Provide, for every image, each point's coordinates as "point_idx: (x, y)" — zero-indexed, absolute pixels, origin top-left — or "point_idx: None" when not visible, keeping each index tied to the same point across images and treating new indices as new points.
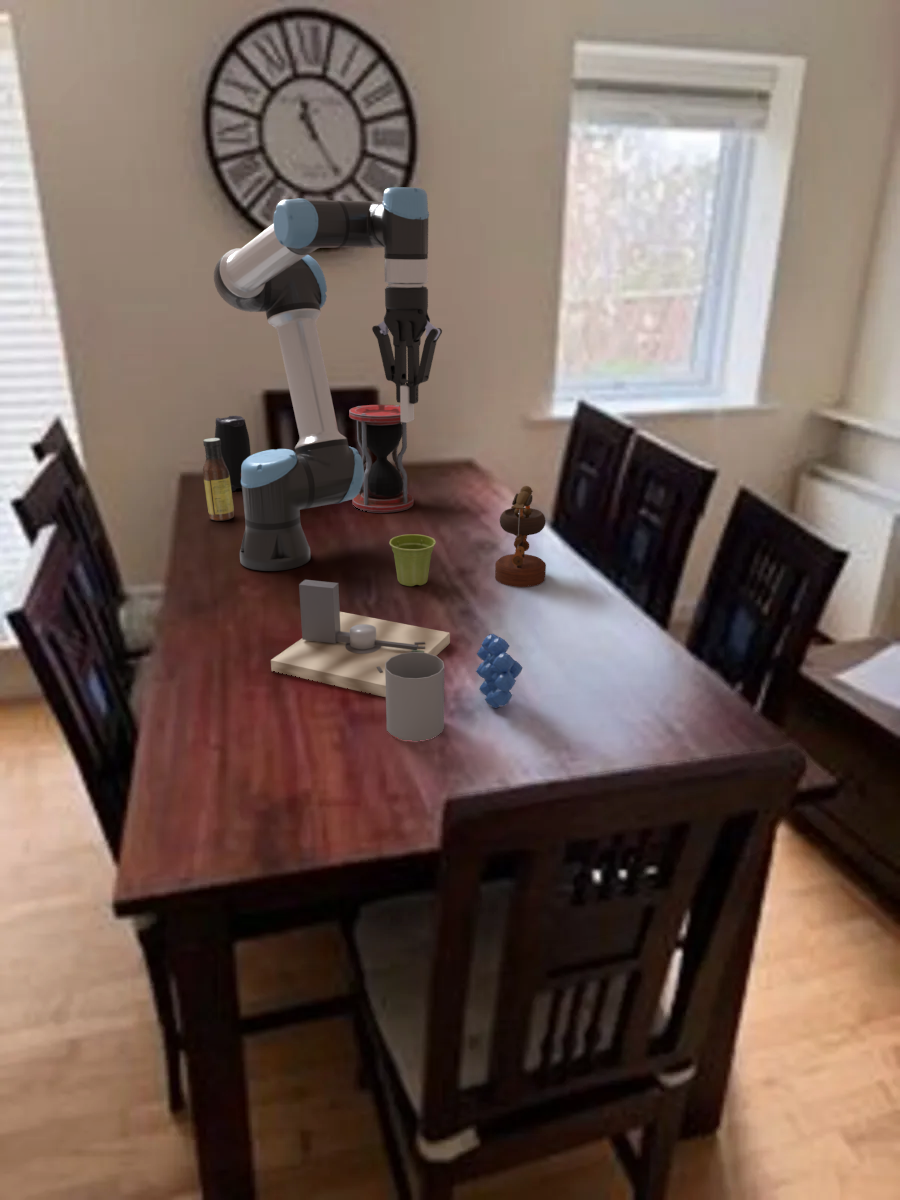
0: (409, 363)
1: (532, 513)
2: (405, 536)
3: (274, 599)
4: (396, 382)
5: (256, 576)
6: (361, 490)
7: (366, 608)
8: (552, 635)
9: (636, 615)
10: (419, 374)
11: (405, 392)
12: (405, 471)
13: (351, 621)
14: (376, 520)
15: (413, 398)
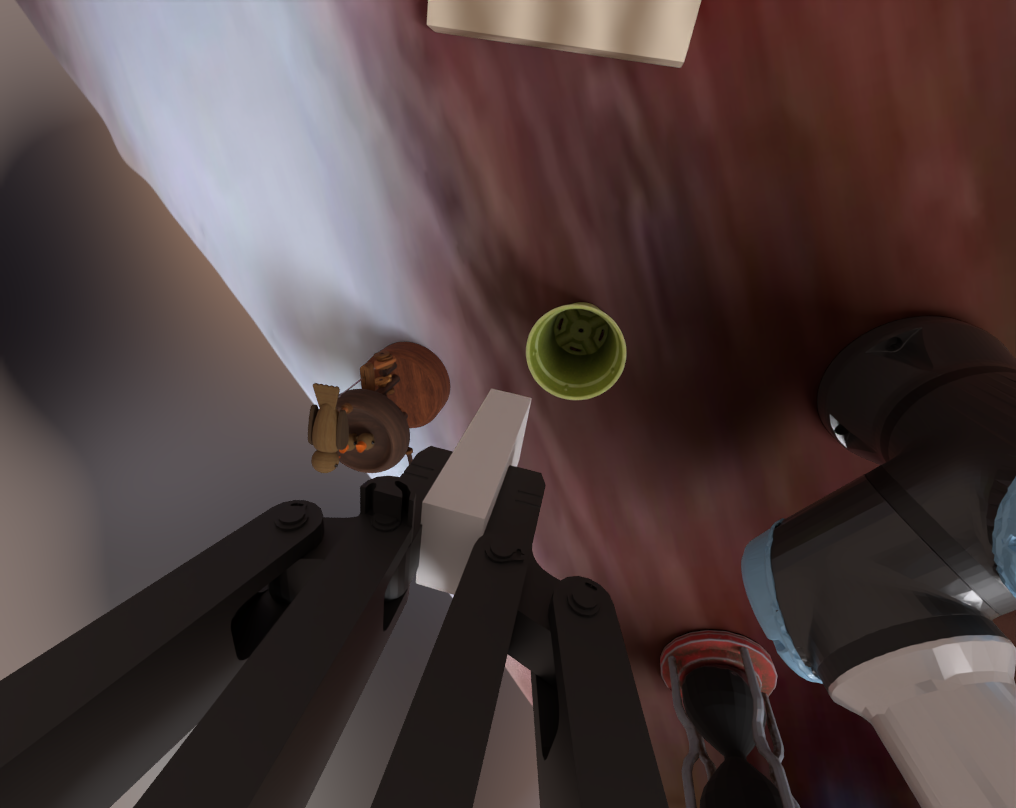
0: (297, 673)
1: (350, 454)
2: (599, 389)
3: (869, 154)
4: (512, 546)
5: (939, 284)
6: (764, 700)
7: (639, 165)
8: (289, 140)
9: (214, 266)
10: (263, 553)
11: (454, 478)
12: (678, 716)
13: (644, 7)
14: (712, 599)
15: (421, 463)
